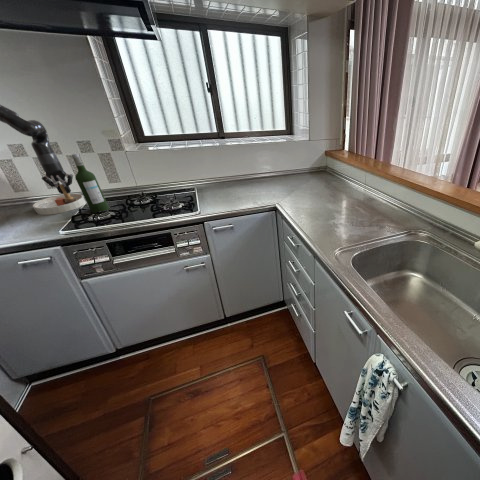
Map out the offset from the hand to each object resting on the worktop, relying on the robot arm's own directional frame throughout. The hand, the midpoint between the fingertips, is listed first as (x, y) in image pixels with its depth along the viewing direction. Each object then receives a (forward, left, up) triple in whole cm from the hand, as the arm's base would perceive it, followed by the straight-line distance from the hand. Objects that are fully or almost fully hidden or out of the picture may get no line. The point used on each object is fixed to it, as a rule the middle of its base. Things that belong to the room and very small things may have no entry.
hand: (65, 193), depth 149 cm
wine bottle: (+19, -14, -7) cm, 25 cm away
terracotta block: (-4, 0, -6) cm, 8 cm away
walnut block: (+3, -5, -6) cm, 8 cm away
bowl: (-3, -3, -7) cm, 9 cm away
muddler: (0, 0, -5) cm, 5 cm away
